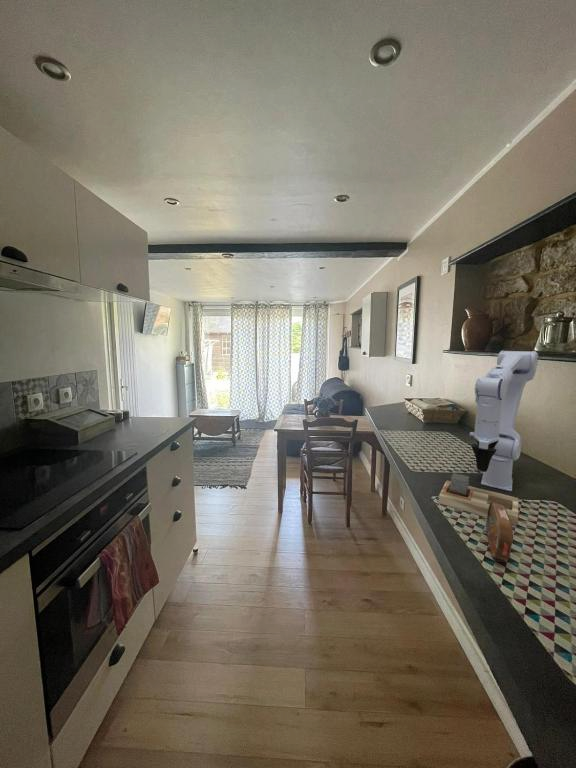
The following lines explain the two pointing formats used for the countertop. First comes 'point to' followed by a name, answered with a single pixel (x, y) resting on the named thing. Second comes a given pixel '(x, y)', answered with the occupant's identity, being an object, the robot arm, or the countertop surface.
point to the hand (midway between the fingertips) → (483, 466)
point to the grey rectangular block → (459, 485)
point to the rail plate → (479, 501)
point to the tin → (499, 531)
